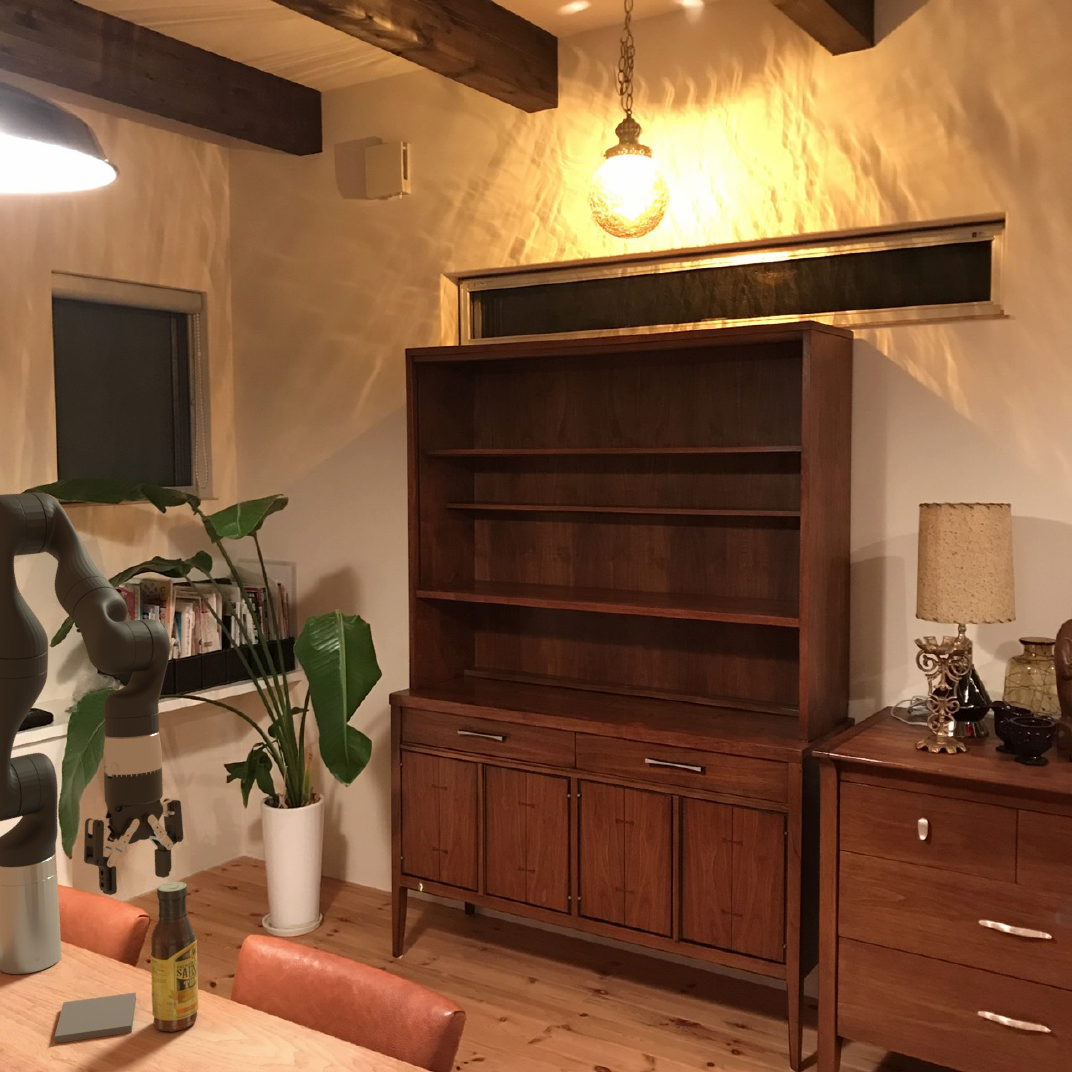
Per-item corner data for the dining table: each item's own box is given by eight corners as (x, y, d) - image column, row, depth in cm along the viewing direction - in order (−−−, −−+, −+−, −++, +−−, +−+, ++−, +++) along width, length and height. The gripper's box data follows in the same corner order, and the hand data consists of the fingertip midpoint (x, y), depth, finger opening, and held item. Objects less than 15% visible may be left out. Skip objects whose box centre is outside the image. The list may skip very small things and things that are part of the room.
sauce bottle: (185, 1036, 161) (179, 897, 160) (144, 1032, 163) (138, 894, 161) (207, 1012, 168) (202, 879, 166) (168, 1009, 169) (162, 876, 167)
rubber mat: (63, 1008, 169) (63, 1002, 169) (136, 998, 172) (135, 992, 172) (55, 1043, 160) (54, 1036, 160) (131, 1032, 163) (131, 1025, 162)
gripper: (158, 754, 167) (161, 867, 167) (70, 773, 155) (73, 895, 155) (193, 759, 162) (196, 875, 162) (104, 779, 151) (108, 904, 151)
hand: (136, 884), depth 159 cm, fingers open, 8 cm apart
